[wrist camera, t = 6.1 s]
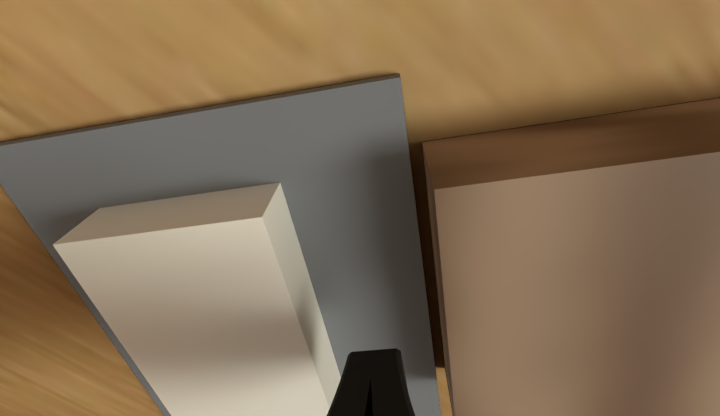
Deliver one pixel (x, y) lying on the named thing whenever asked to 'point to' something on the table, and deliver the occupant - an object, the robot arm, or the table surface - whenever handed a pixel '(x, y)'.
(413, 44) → the table surface
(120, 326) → the cream rectangular block
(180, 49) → the table surface
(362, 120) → the mat
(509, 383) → the riser
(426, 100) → the table surface
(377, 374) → the robot arm
